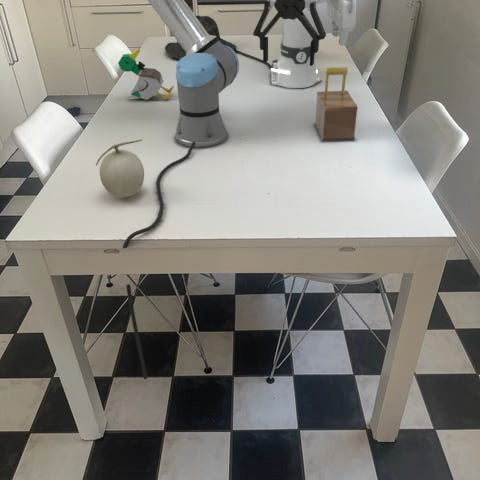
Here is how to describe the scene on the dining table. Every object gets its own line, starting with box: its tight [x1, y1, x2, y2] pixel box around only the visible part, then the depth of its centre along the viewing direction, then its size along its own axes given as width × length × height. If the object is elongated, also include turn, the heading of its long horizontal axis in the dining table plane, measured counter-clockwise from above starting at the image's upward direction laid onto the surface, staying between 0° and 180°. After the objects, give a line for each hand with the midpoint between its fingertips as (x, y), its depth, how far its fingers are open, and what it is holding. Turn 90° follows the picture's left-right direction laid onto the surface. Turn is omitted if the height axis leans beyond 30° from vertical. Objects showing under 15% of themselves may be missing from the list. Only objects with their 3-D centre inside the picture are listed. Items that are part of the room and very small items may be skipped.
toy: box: [117, 47, 175, 101], centre depth 181 cm, size 6×17×20 cm
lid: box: [316, 66, 359, 112], centre depth 150 cm, size 14×9×9 cm
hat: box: [164, 15, 237, 60], centre depth 230 cm, size 32×35×14 cm
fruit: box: [95, 139, 145, 199], centre depth 124 cm, size 10×12×15 cm
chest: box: [314, 96, 358, 143], centre depth 155 cm, size 13×9×9 cm
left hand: (288, 63), depth 148 cm, fingers open, 13 cm apart
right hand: (338, 40), depth 145 cm, fingers open, 8 cm apart
